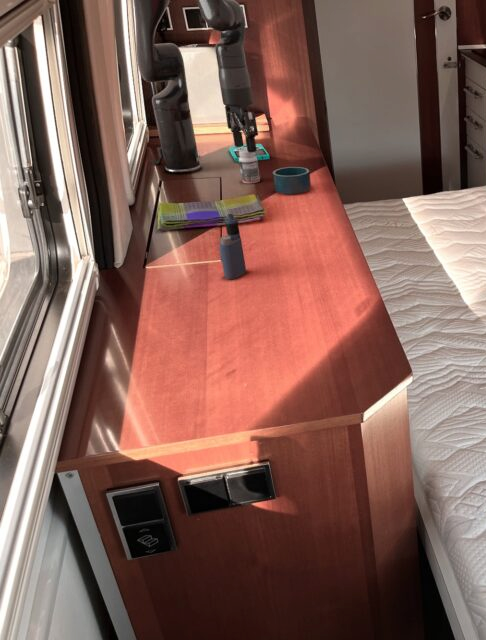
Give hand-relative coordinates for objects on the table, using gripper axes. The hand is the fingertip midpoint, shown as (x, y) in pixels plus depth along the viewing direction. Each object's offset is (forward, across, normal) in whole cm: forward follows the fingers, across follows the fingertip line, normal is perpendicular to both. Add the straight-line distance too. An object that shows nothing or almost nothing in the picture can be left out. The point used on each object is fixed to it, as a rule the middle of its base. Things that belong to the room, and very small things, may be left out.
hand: (245, 149), depth 216 cm
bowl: (+9, -14, -6) cm, 18 cm away
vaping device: (+10, -62, +30) cm, 69 cm away
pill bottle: (+9, +1, 0) cm, 9 cm away
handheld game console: (+8, +29, -12) cm, 32 cm away
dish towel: (+9, -23, +19) cm, 31 cm away
